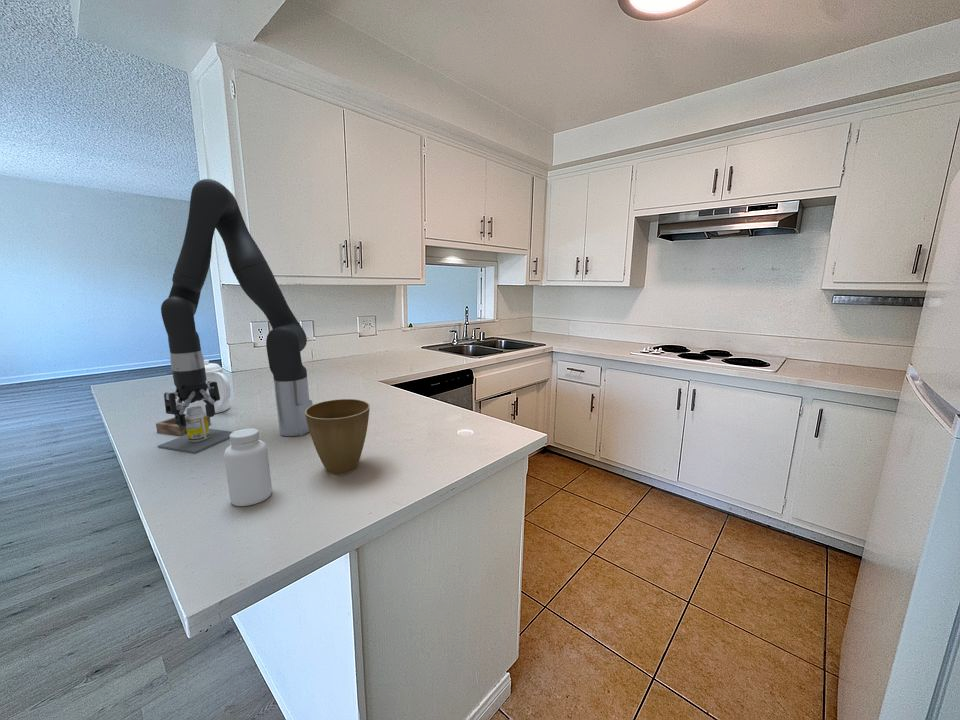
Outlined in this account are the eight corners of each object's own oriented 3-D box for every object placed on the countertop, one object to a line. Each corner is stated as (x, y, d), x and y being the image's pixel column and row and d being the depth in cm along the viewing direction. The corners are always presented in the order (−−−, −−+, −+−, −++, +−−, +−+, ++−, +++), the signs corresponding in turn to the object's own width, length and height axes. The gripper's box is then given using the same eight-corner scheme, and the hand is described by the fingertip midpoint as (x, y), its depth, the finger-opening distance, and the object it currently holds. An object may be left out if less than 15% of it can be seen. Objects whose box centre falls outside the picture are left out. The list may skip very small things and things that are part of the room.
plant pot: (306, 487, 89) (300, 421, 85) (314, 459, 103) (309, 401, 99) (374, 477, 93) (370, 414, 89) (372, 451, 107) (369, 396, 103)
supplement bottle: (203, 434, 117) (198, 404, 115) (214, 437, 115) (209, 406, 113) (184, 440, 113) (178, 409, 111) (195, 444, 111) (190, 412, 109)
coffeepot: (208, 401, 151) (201, 354, 148) (247, 411, 140) (241, 360, 136) (176, 409, 142) (168, 359, 138) (215, 420, 131) (207, 366, 127)
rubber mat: (239, 434, 119) (239, 432, 119) (195, 453, 106) (194, 451, 106) (204, 429, 123) (204, 427, 123) (157, 447, 110) (157, 445, 110)
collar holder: (210, 424, 127) (209, 416, 126) (180, 436, 118) (179, 426, 117) (188, 421, 130) (186, 413, 129) (157, 432, 120) (155, 423, 120)
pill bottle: (279, 487, 89) (272, 425, 86) (261, 507, 81) (252, 440, 78) (244, 487, 88) (235, 425, 85) (222, 508, 81) (212, 440, 78)
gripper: (172, 373, 102) (182, 431, 105) (221, 362, 115) (228, 414, 119) (151, 372, 104) (162, 428, 107) (202, 361, 117) (210, 412, 121)
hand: (197, 421), depth 113 cm, fingers open, 8 cm apart
